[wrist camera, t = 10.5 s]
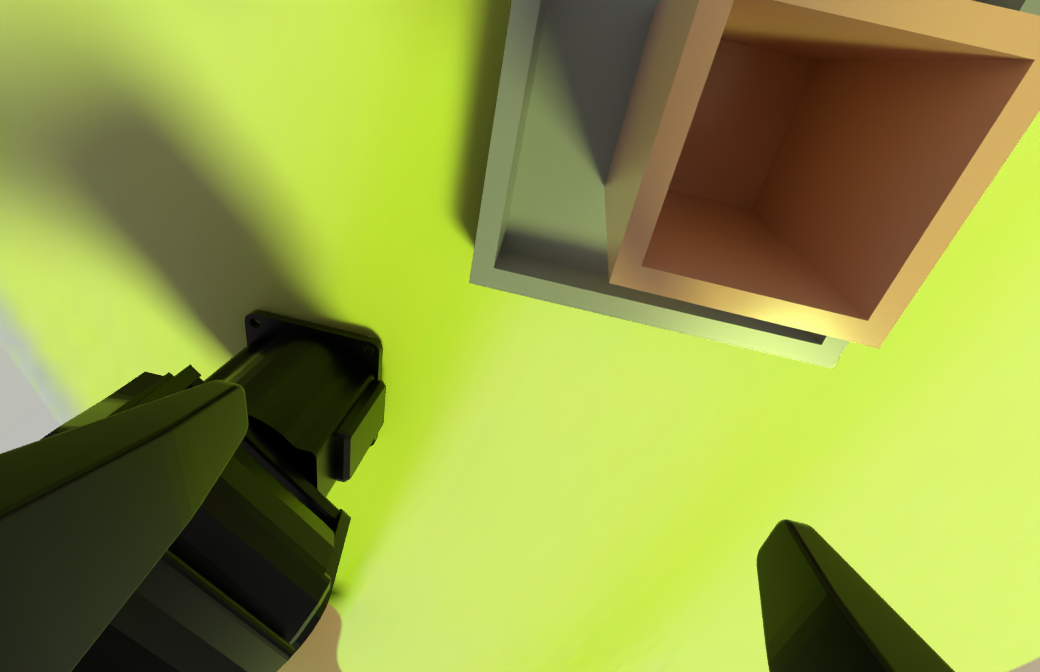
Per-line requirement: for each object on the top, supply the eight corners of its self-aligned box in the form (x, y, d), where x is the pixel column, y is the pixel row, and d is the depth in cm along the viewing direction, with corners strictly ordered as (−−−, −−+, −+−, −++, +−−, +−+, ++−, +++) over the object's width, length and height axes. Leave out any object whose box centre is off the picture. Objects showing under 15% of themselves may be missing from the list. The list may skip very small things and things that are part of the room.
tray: (482, 259, 20) (469, 283, 18) (556, -196, 14) (548, -246, 11) (806, 335, 20) (832, 368, 18) (1050, -93, 13) (1139, -124, 11)
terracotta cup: (604, 186, 18) (608, 282, 10) (655, 6, 15) (717, -57, 7) (754, 222, 18) (878, 348, 10) (833, 47, 15) (1095, 28, 7)
